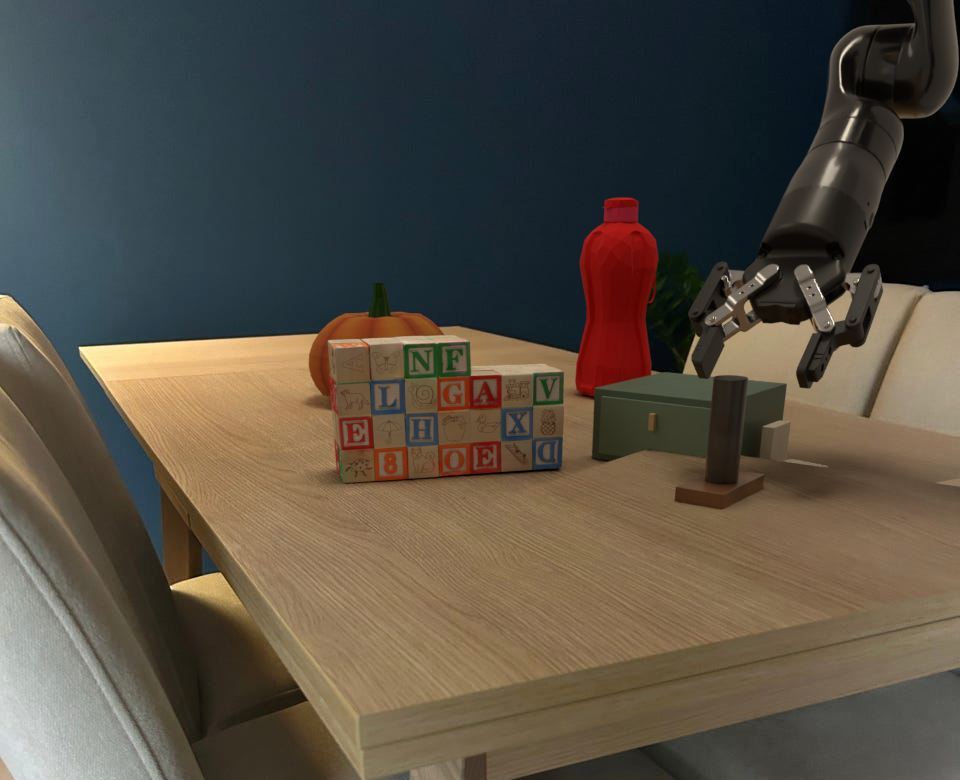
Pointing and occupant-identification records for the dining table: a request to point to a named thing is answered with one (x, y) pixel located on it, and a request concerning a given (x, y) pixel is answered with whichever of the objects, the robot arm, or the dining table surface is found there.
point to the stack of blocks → (439, 410)
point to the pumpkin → (365, 332)
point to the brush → (723, 451)
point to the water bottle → (616, 298)
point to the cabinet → (674, 415)
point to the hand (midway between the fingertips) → (749, 377)
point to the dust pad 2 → (804, 463)
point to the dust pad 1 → (775, 441)
